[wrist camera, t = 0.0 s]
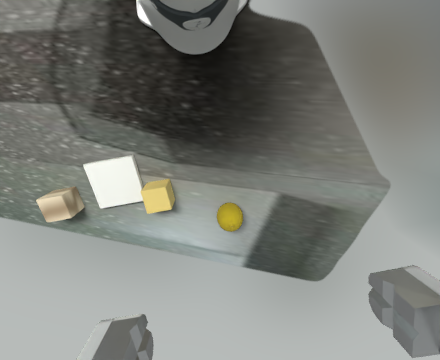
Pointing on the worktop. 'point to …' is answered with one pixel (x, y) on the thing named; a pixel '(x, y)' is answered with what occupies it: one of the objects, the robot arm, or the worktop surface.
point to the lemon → (229, 217)
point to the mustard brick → (158, 196)
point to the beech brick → (60, 204)
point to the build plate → (115, 181)
